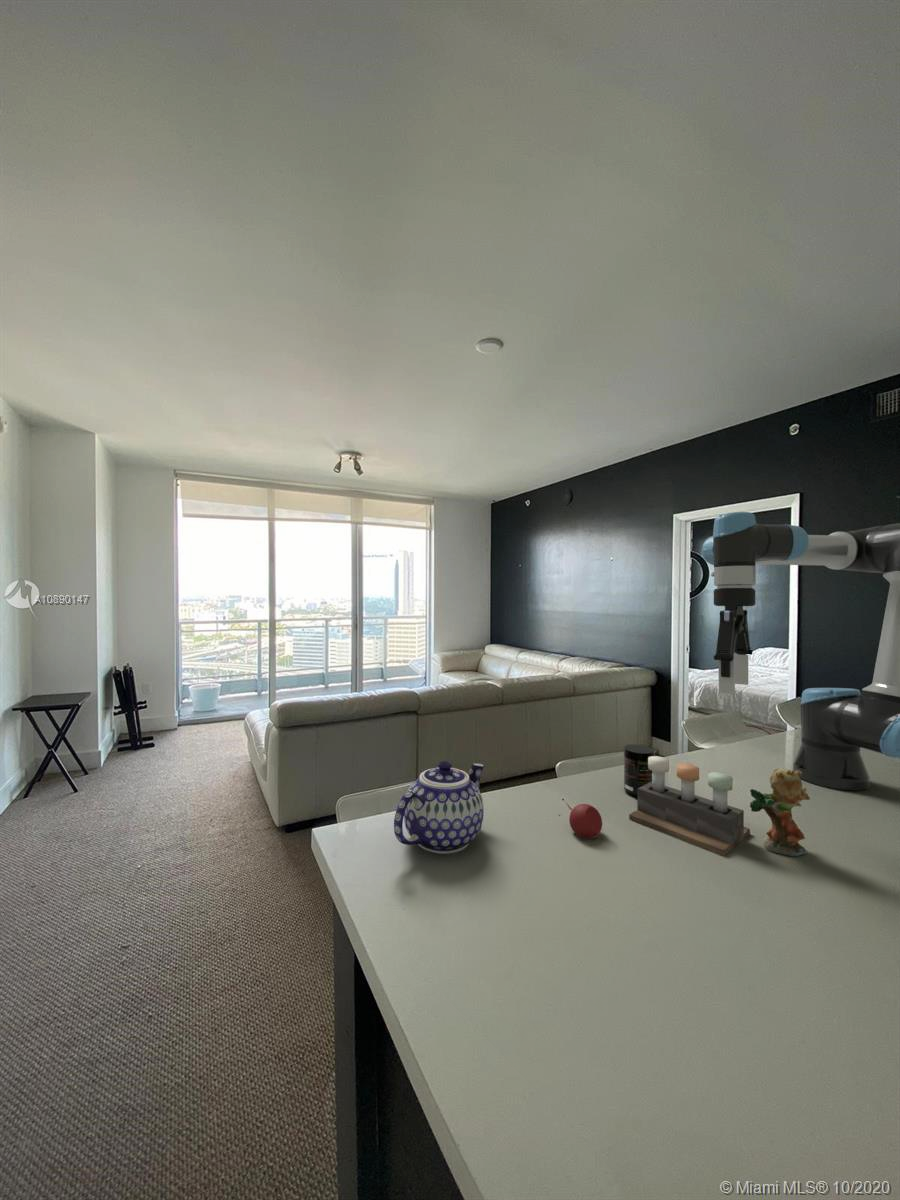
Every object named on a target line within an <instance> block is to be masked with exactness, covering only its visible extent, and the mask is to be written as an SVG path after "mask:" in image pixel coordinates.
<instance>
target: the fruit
mask: <svg viewBox="0 0 900 1200" xmlns="http://www.w3.org/2000/svg"><path fill="white" fill-rule="evenodd" d="M561 800H562V801H563V802H564V801H565V802H566V800H565V799H564V798H562V799H561ZM566 806H567V807H568V808H569V810H570V813H569V817H568V818H569V819H568V820H569V825H570V828H571V830H572V832H573V833H574V834H575V835H576V836H578V837H580V838H583V839H594V838H595V837H597V836H598V835H599V834H600V833H601V831H602V828H603V819H602V816H601V814H600V812H599V811H598V809H597V808H595V807H594V806H593V805H590V804H588V803H581V804H580V803H579V804H577V805H576V806H574V807H573V808H572V807H571V806H570V805H569V804H568V803H566Z"/></svg>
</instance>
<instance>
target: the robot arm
mask: <svg viewBox="0 0 900 1200" xmlns="http://www.w3.org/2000/svg"><path fill="white" fill-rule="evenodd" d="M713 523H714V524H713V531H712V533H713V534H712V535H711V536H709V537H708V538H706V540H705V541H704V542H703V544H702V550H701V553H702V556H703V559H704V561H706V563H708V564H710V565H711V566H713V572H711V573H710V576H711V577H713V586H715V587H716V588H714V590H713V605H714V607H724V610H720V612H719V626H718V634H717V642H716V651H715V654H714V655H713V660H715V661H718V694H725V695H726V694H727V695H735V694H736V684H737V685H742V686H743V685H745V686H749V656H750V655H751V656H752V655H753V649H751V644H750V643H751V642H750V636H749V634H750V633H749V632H750V631H749V624H748V623H749V622H748V613H749V612H748V610H747V609H744V607H753V606H755V605H756V589H755V588H753V586H755V585H756V584H757V583H756V582H757V581H756V580H757V579H756V577H757V575H756V574H757V573H756V569H757V567H756V565H761V566H762V565H766V566H767V565H773V566H775V565H777V566H825V567H826V568H828V569H831V570H838V571H839V570H841V571H852V572H864V573H875V574H877V573H878V574H882V577H883V578H884V579H885V580H886V581H887V582H888V583H889V588H888V595H887V599H886V600H887V601H886V606H885V611H884V615H883V622H882V628H881V634H880V639H879V643H878V644H879V645H878V648H877V649H878V650H877V655H876V659H875V660H876V661H875V666H874V672H873V676H872V677H873V678H872V682H871V684H869V685H867V686H865V687H863V688H862V689H861V690H860V689H857V688H847V687H845V688H844V687H810V688H809V687H808V688H806V689H804V690H803V691H802V693H801V702H800V727H801V728H800V729H801V730H800V731H801V732H800V733H801V734H800V737H801V741H800V742H801V744H800V746H799V749H798V751H797V754H796V756H795V759H794V761H793V763H792V771H797V770H800V771H801V772H802V774H801V776H800V779H801V780H803V781H806V782H808V783H811V784H814V785H816V786H817V785H818V786H821V787H825V788H829V789H830V788H831V789H836V790H843V791H865V790H868V789H870V787H871V785H870V783H871V779H870V775H869V772H868V770H867V767H866V765H865V763H864V759H863V756H862V755H861V749H865V750H868V751H872V752H875V753H879V754H882V755H885V756H886V757H889V758H893V759H899V760H900V522H897V523H893V524H885V525H877V526H872V527H867V528H862V529H858V530H850V531H835V532H832V533H830V534H828V535H825V534H824V535H823V534H821V535H820V534H808V533H807V531H806V530H805V529H804V528H803V527H801V526H799V525H791V524H788V523H785V524H760V523H757V520H756V515H755V514H754V513H753V512H750V511H736V512H727V513H723V514H720V515H718V516H716V517H715V519H714V522H713Z"/></svg>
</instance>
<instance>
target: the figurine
mask: <svg viewBox="0 0 900 1200" xmlns="http://www.w3.org/2000/svg"><path fill="white" fill-rule="evenodd" d="M801 774H802V772H801V771H800V770H797V771H793V769H788V768H779V767H777V768H775V769H774V770H773V772H772V773H771V775H770V778H769V780H770V781H769V783H770V788H771V789H772V792H771V793H762V792H760V790H757V789H754V788H751V789H749V791H750V796H751V797H752V798H753V800H752V801H750V803H749V804H750V805H749V807H750V808H751V810H750V811H751V812H753V813H754V812H756V813H757V812H761V810H763V811H764V812H765V813H766V814H767V816H768V817H769V819H770V820H771V828H770V829H769V830H767V831H766V835H765V836H764V839H763V842H762V844H763V846H764V848H766V849H767V850H768V851H769V852H772V853H776V854H779V855H784V856H787V857H799V856H801V855H802V856H803V855H806V854H807V853H808V852H809V851H808V850H807V849H806V848H805V847H804V846H803V845H802V844H800V843H799V841H801V840H805V839H806V837H805V836H804V835H805V834H804V833H803V832H802V830H801V829H800V828H799V826H798V825H797V823H796V822H795V820H794V819H793V814H792V809H793V808H794V807H802V804H801V803H800V802H802V801H804V800H807V801H809V800H811V798H810V796H809V795H808V793H807V791H808V789H807V788H806V787H804V786H803V781H802V779H801V778H800V776H801Z"/></svg>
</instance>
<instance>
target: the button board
mask: <svg viewBox="0 0 900 1200" xmlns="http://www.w3.org/2000/svg"><path fill="white" fill-rule="evenodd" d="M636 799H637V803H636V804H637V809H636V810H635V811H633V812H630V813H629V814H628V815H629V816H628V819H629V820H630V821H632V822H635V823H638V824H641V825H644V826H645V827H649V828H651V829H653V830H657V831H659V832H661V833H664V834H665V835H669V836H671V837H674V838H676V839H679V840H682V841H684V842H687V843H689V844H692V845H694V846H697V847H700V848H702V849H705V850H707V849H708V851H710V850H711V851H710V852H712V851H714V852H713V853H715V852H716V853H715V854H717V853H718V855H720V854H721V855H720V856H723V857H724V855H725V856H726V855H727V854H729V852H731V851H732V850H733V849H734V848H736V846H738V845H739V844H740V843H741V842H742V841H744V840H745V839H746V838H747V837H748V836H750V835H751V828H749V827H747V826H746V827H745V826H744V817H745V816H744V815H745V811H744V809H742V808H738V807H735V806H731V805H729V804H727V813H720V812H717V811H714V810H713V799H708V798H706V797H702V796H699V795H696V794H695V801H694V802H686V801H683V800H681V789H678V788H674V787H671V786H667V785H665V792H663V793H659V792H655V791H653V790H652V782H650V783H648V784H646V785H644V786H642V787H640V788H638V791H637V797H636ZM731 849H732V850H731Z"/></svg>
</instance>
